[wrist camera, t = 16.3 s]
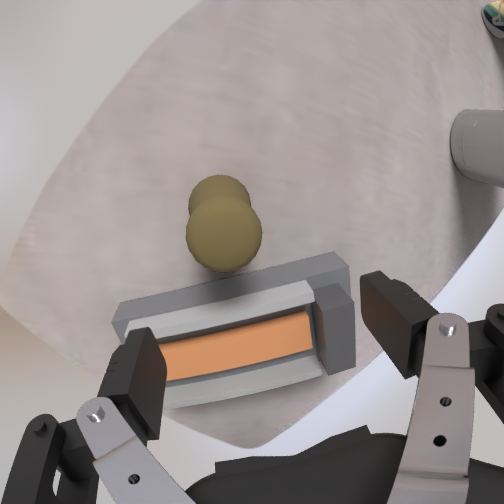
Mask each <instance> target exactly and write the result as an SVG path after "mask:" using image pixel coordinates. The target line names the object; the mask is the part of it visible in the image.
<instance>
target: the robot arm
mask: <svg viewBox="0 0 504 504" xmlns="http://www.w3.org/2000/svg"><path fill="white" fill-rule="evenodd" d="M451 151H452V156H453V159H454V162H455V164H456V166H457V168H458V169H459V171H460V172H461V173H462V174H463V175H464V176H466V177H468V178H470V179H474V180H477V181H481V182H484V183H488V184H491V185H494V186H497V187H501V188H504V111H501V110H469V109H468V110H465V111H463V112H461V113H460V114H459V115H458V116H457V118H456V119H455V121H454V123H453V127H452V131H451ZM360 296H361V314H362V318H363V321H364V323H365V325H366V327H367V328H368V329H369V331H370V332H371V333H372V335H373V336H374V337H375V339H376V340H377V341H378V343H379V344H380V345H381V347H382V348H383V350H384V351H385V352H386V353H387V355H388V356H389V358H390V359H391V360H392V362H393V363H394V365H395V366H396V367H397V369H398V370H399V372H400V373H401V374H402V376H403V377H404V379H408V378H410V377H412V376H415V375H416V376H417V377H418V378H419V380H418V385H417V390H416V396H415V400H414V405H413V410H412V414H411V418H410V423H409V427H408V430H407V434H406V436H405V435H401V434H394V433H375V434H371V433H370V431H369V429H368V427H367V425H364V426H362V427H359V428H356V429H353V430H350V431H347V432H344V433H341V434H338V435H335V436H332V437H329V438H328V439H326V440H324V441H322V442H320V443H318V444H316V445H314V446H313V447H311V448H309V449H307V450H305V451H303V452H301V453H299V454H296V455H294V456H275V457H273V456H270V457H269V456H263V457H262V456H258V457H257V456H252V457H246V458H241V459H234V460H229V461H221V462H215V473H213V474H211V475H209V476H206V477H204V478H202V479H201V480H199V481H197V482H196V483H194V484H193V485H192V486H190V487H189V488H188V489H187V490H186V491H184V490H183V489H182V488H181V487H180V486H179V485H178V484H177V483H176V482H175V480H174V479H173V478H172V477H171V476H170V475H169V474H168V473H167V472H166V470H165V469H164V468H163V467H162V466H161V465H160V463H159V462H158V461H157V460H156V459H155V458H154V456H153V455H152V454H151V453H150V452H149V450H148V449H147V448H146V447H147V440H159V434H160V425H161V417H162V409H163V401H164V394H165V386H166V379H167V365H166V361H165V358H164V356H163V354H162V352H161V350H160V347H159V345H158V343H157V341H156V339H155V336H154V334H153V332H152V330H151V329H150V328H149V327H144V328H138V329H133V330H130V331H129V333H128V335H127V338H126V341H125V344H123V345H120V346H119V347H118V348H117V349H116V351H115V352H114V353H113V354H112V357H111V359H110V362H109V365H108V367H107V370H106V372H107V373H105V375H104V378H103V381H102V384H101V387H100V390H99V392H98V395H97V398H94V399H91V400H89V401H88V402H86V403H84V404H83V405H82V406H81V407H80V409H79V410H78V412H77V416H76V419H72V420H69V421H66V422H62V423H58V421H57V420H56V419H55V418H54V417H53V416H52V415H50V414H42V415H39V416H37V417H35V418H34V419H32V421H30V423H29V424H28V426H27V427H26V430H25V432H24V435H23V438H22V440H21V443H20V445H19V448H18V451H17V454H16V456H15V459H14V462H13V466H12V468H11V471H10V474H9V478H8V481H7V484H6V487H5V491H4V494H3V498H2V502H1V504H96V497H97V490H98V482H99V476H100V478H101V480H102V481H103V483H104V485H105V487H106V488H107V490H108V492H109V493H110V495H111V496H112V498H113V500H114V501H115V503H116V504H504V468H503V467H500V466H496V465H492V464H489V463H485V462H482V461H479V460H475V459H472V458H469V457H470V450H471V440H472V431H473V430H472V429H473V418H474V397H475V386H476V387H477V388H478V390H479V391H480V392H481V394H482V395H483V396H484V398H485V399H486V400H487V402H488V403H489V404H490V406H491V407H492V409H493V410H494V411H495V413H496V414H497V415H498V417H499V418H500V419H501V421H502V422H503V424H504V304H495V305H493V306H491V307H490V308H489V309H488V310H487V314H486V318H485V320H481V321H475V322H470V323H467V322H466V320H465V319H464V318H462V317H461V316H459V315H456V314H452V313H441V314H440V313H439V312H438V311H437V310H436V309H434V308H433V307H432V306H431V305H430V304H429V303H428V302H427V301H425V300H424V299H423V298H422V297H420V295H419V294H417V293H416V292H415V291H413V289H412V288H411V287H409V286H408V285H407V284H406V283H404V282H401V281H398V280H396V279H393V280H390V279H389V278H388V277H387V276H386V275H385V274H383V273H382V272H381V271H375V272H372V273H368V274H365V275H362V276H361V277H360ZM56 469H57V470H58V471H59V472H60V473H61V477H60V481H59V485H58V490H57V495H56V496H55V494H54V492H53V480H54V476H55V472H56Z"/></svg>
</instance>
